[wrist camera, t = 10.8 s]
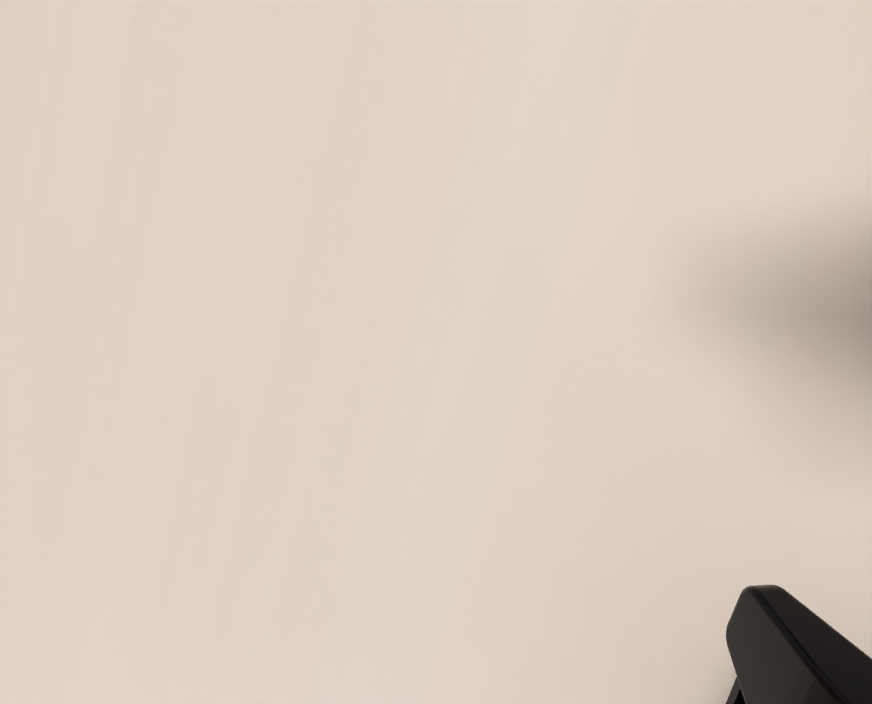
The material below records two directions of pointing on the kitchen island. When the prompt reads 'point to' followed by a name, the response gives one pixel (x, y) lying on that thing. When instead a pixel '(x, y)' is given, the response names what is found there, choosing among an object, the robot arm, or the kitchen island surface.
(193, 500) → the kitchen island surface
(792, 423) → the kitchen island surface
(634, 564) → the kitchen island surface
